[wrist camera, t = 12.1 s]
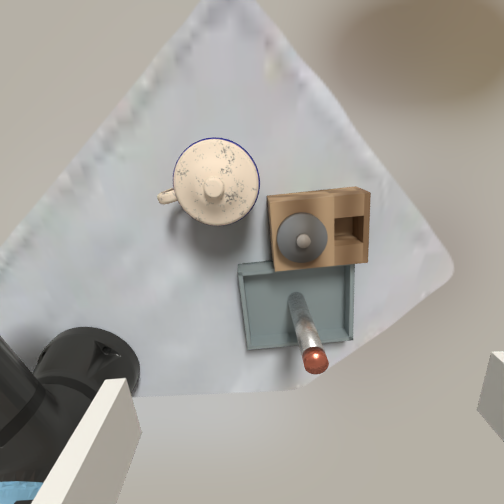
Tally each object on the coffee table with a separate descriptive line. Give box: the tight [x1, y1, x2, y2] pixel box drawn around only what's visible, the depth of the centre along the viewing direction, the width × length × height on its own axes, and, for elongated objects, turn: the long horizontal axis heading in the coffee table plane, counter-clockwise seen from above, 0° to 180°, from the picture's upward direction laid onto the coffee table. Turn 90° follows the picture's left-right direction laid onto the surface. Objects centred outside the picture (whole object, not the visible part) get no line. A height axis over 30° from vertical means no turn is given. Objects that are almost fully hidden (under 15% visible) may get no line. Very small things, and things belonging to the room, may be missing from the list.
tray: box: [238, 261, 355, 350], centre depth 44 cm, size 16×13×3 cm
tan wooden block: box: [267, 187, 371, 272], centre depth 38 cm, size 12×9×7 cm
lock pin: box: [288, 292, 329, 374], centre depth 39 cm, size 3×3×14 cm
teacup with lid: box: [157, 138, 260, 226], centre depth 34 cm, size 12×9×12 cm
